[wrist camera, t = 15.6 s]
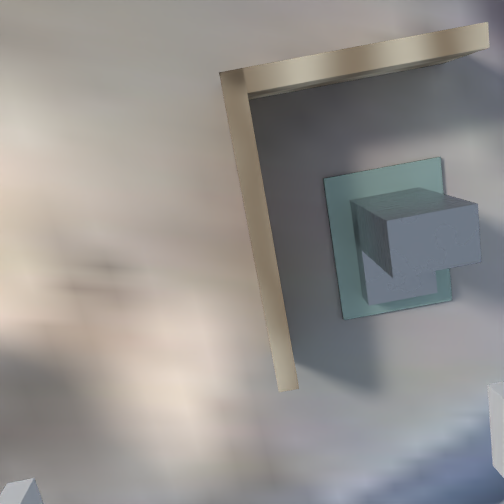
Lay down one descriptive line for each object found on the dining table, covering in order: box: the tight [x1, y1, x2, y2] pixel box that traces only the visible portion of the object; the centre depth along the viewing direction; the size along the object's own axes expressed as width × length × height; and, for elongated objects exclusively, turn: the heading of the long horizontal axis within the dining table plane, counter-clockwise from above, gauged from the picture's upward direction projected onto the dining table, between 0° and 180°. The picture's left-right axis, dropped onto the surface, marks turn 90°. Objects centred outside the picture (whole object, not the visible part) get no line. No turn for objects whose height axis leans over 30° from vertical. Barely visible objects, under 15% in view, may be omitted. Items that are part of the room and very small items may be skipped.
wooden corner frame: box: [219, 22, 489, 392], centre depth 37 cm, size 18×24×7 cm
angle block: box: [350, 187, 481, 306], centre depth 36 cm, size 9×6×10 cm, turn 11°
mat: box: [323, 157, 452, 320], centre depth 41 cm, size 10×13×1 cm
